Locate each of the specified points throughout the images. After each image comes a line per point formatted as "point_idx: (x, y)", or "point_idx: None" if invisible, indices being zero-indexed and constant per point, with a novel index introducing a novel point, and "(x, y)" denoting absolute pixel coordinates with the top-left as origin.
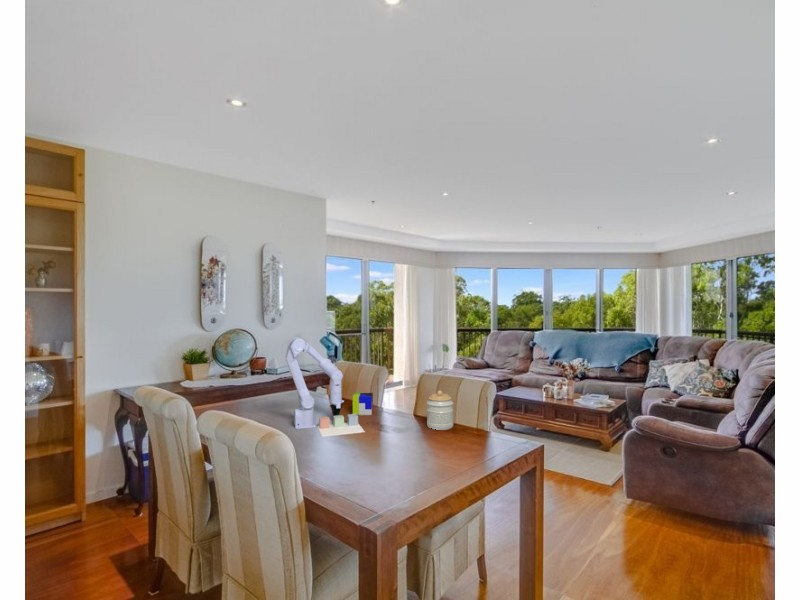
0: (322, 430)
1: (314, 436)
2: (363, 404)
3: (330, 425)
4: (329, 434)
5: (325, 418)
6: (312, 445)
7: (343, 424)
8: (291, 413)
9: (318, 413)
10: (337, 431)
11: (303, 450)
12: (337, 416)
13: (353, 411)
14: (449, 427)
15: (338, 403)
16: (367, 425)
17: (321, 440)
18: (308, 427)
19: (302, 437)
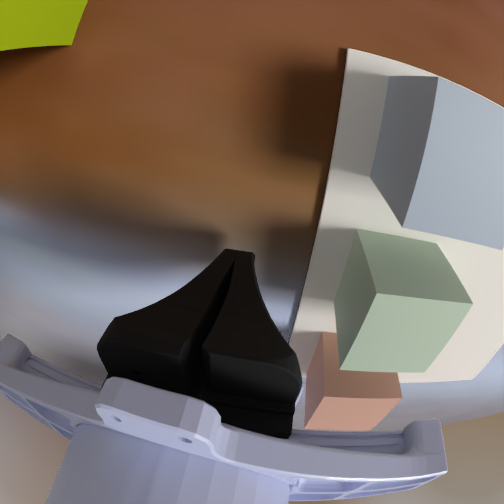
0: (399, 373)
1: (435, 396)
2: None
3: (334, 321)
4: (480, 354)
5: (369, 413)
6: (496, 398)
7: (442, 260)
8: (39, 355)
9: (18, 276)
10: (482, 314)
11: (498, 411)
12: (392, 348)
13: (44, 38)
14: None
15: (359, 484)
16: (496, 33)
17: (492, 379)
18: (295, 405)
19: (405, 421)
